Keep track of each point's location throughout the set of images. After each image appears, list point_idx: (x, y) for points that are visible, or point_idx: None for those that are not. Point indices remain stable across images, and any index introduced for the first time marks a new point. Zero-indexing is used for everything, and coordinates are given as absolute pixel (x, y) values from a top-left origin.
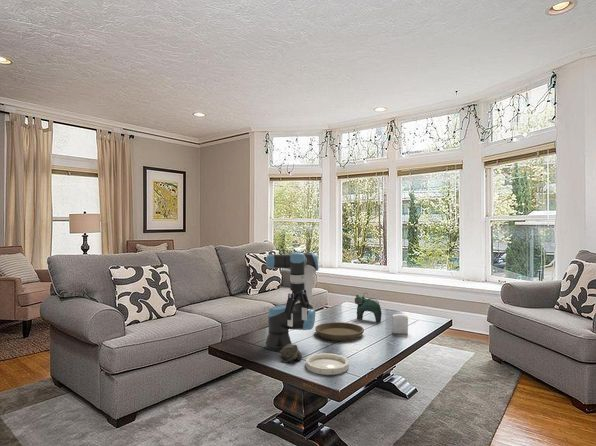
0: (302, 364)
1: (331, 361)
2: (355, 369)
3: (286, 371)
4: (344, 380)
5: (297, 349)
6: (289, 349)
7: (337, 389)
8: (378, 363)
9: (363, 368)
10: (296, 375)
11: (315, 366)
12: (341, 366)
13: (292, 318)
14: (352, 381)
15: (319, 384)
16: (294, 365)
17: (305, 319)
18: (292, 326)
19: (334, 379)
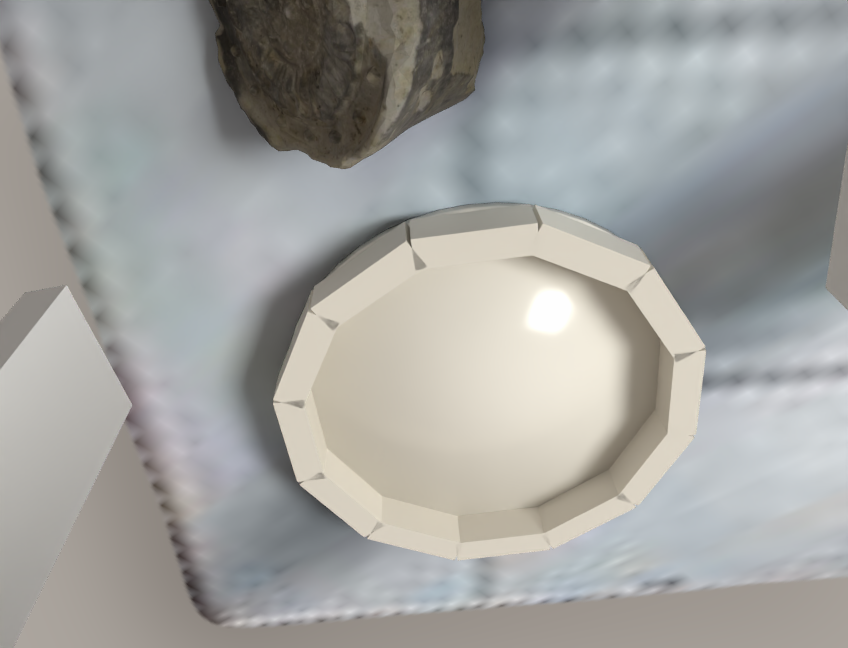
0: (348, 201)
1: (580, 374)
2: None
3: (84, 215)
4: (358, 581)
5: (357, 157)
6: (316, 2)
7: (220, 617)
8: (783, 569)
9: (629, 556)
10: (117, 339)
11: (297, 435)
12: (462, 547)
13: (26, 592)
14: (384, 610)
15: (172, 530)
16: (259, 159)
17: (841, 286)
18: (118, 408)
19: (318, 542)
